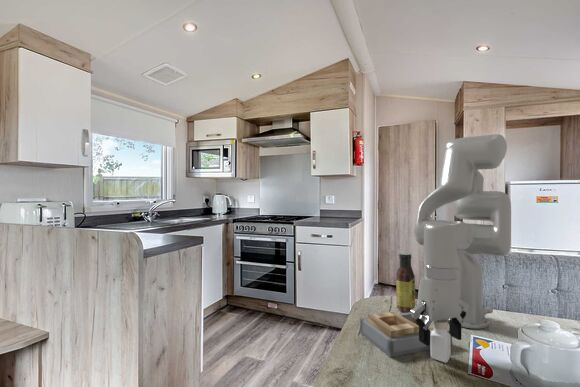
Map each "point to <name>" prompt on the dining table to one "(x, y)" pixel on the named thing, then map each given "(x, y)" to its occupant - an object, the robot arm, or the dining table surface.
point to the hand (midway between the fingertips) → (440, 340)
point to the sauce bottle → (405, 284)
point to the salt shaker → (440, 341)
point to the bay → (393, 339)
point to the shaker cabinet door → (393, 324)
